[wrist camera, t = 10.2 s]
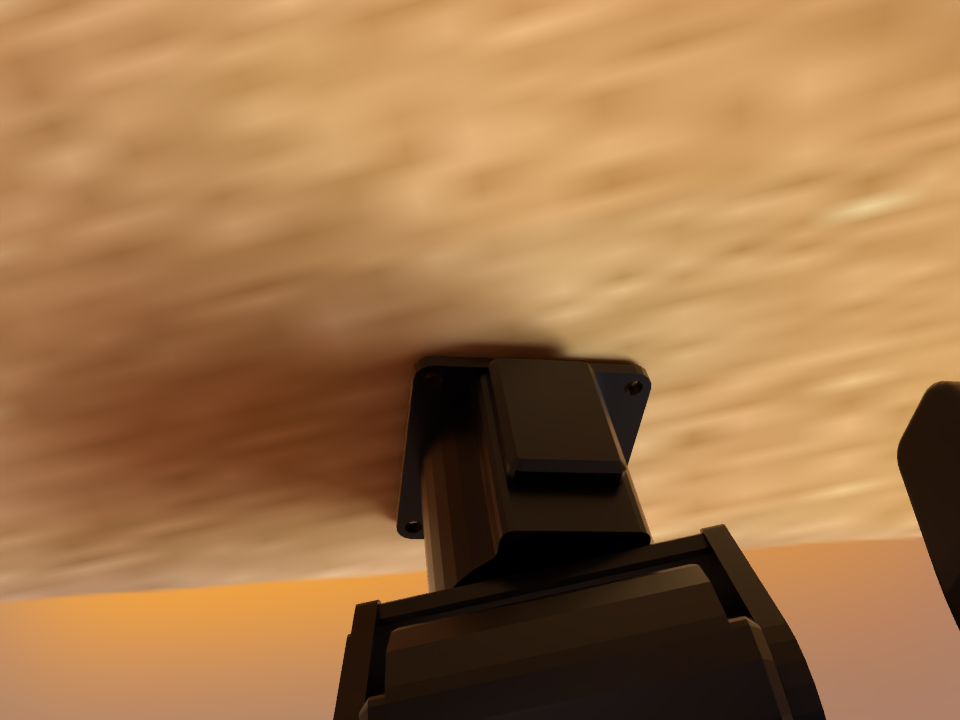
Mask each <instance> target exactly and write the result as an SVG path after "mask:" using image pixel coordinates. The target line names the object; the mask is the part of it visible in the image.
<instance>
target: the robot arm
mask: <svg viewBox="0 0 960 720" xmlns="http://www.w3.org/2000/svg"><path fill="white" fill-rule="evenodd" d="M429 373H436V374H439V376H438V377H437V378H434V379H428V378H425V377H424V376H426V375H427V374H429ZM631 381H638V382H637V383H636V384H635V385H633V386H629V387H627V386H626V384H628V383H629V382H631ZM650 390H651V381H650V379H649V377H648V374H647V372H646V370H645V369H644V368H642V367H641V366H638V365H629V364H605V363H587V362H584V361H561V360H538V359H514V358H498V359H487V358H463V357H439V356H431V357H425V358H423V359H421V360H419V361H418V362H417V363H416V364H415V365H414V368H413V372H412V380H411V389H410V398H409V407H408V416H407V425H406V433H405V442H404V451H403V460H402V469H401V478H400V487H399V495H398V504H397V513H396V526H397V532H398V533H399V534H400V535H401V536H403V537H405V538H409V539H424V541H425V553H426V565H427V577H428V589H429V593H426V594H422V595H417V596H413V597H408V598H404V599H399V600H395V601H390V602H385V603H381V602H380V601H379V600H375V601H371V602H366V603H361V604H357V605H356V608H355V613H354V619H353V625H352V631H351V634H349V635H348V636H347V642H346V647H345V653H344V659H343V665H342V671H341V677H340V683H339V689H338V695H337V701H336V707H335V712H334V718H333V720H826V718H825V715H824V710H823V707H822V704H821V701H820V698H819V695H818V692H817V689H816V686H815V683H814V681H813V678H812V676H811V673H810V670H809V668H808V665H807V663H806V660H805V658H804V656H803V654H802V651H801V649H800V647H799V645H798V643H797V640H796V639H795V636H794V635H793V633H792V631H791V629H790V628H789V626H788V624H787V623H786V621H785V619H784V618H783V616H782V614H781V613H780V611H779V610H778V609H777V607H776V605H775V603H774V602H773V600H772V599H771V597H770V596H769V594H768V592H767V591H766V589H765V588H764V586H763V584H762V583H761V581H760V580H759V578H758V577H757V575H756V574H755V572H754V570H753V569H752V567H751V566H750V564H749V562H748V561H747V559H746V558H745V556H744V555H743V553H742V551H741V550H740V548H739V547H738V545H737V544H736V542H735V540H734V539H733V537H732V536H731V534H730V533H729V531H728V529H727V528H726V526H725V525H724V524H721V525H716V526H712V527H707V528H703V529H700V534H695V535H691V536H686V537H682V538H677V539H672V540H668V541H663V542H659V543H654V542H653V539H652V536H651V533H650V530H649V527H648V525H647V522H646V519H645V516H644V513H643V510H642V507H641V504H640V502H639V499H638V496H637V493H636V490H635V487H634V484H633V482H632V479H631V476H630V473H629V470H628V467H627V465H628V462H629V459H630V456H631V452H632V449H633V446H634V443H635V439H636V436H637V433H638V430H639V426H640V423H641V420H642V416H643V413H644V410H645V407H646V403H647V400H648V397H649V394H650ZM897 460H898V466H899V470H900V473H901V476H902V478H903V481H904V484H905V487H906V490H907V493H908V496H909V498H910V501H911V504H912V507H913V510H914V513H915V516H916V518H917V521H918V524H919V527H920V530H921V533H922V536H923V538H924V541H925V544H926V547H927V550H928V553H929V556H930V558H931V561H932V564H933V567H934V570H935V573H936V576H937V578H938V581H939V584H940V586H941V589H942V591H943V594H944V597H945V599H946V601H947V604H948V606H949V608H950V610H951V613H952V615H953V617H954V620H955V621H956V624H957V626H958V628H959V630H960V382H955V381H940V382H937V383H934V384H933V385H931V386H930V387H929V388H928V389H927V390H926V392H925V393H924V395H923V397H922V399H921V401H920V403H919V405H918V407H917V409H916V410H915V412H914V414H913V416H912V418H911V420H910V422H909V424H908V426H907V428H906V430H905V432H904V434H903V436H902V437H901V440H900V442H899V445H898V450H897ZM412 521H416V522H417V523H409V522H412Z"/></svg>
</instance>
